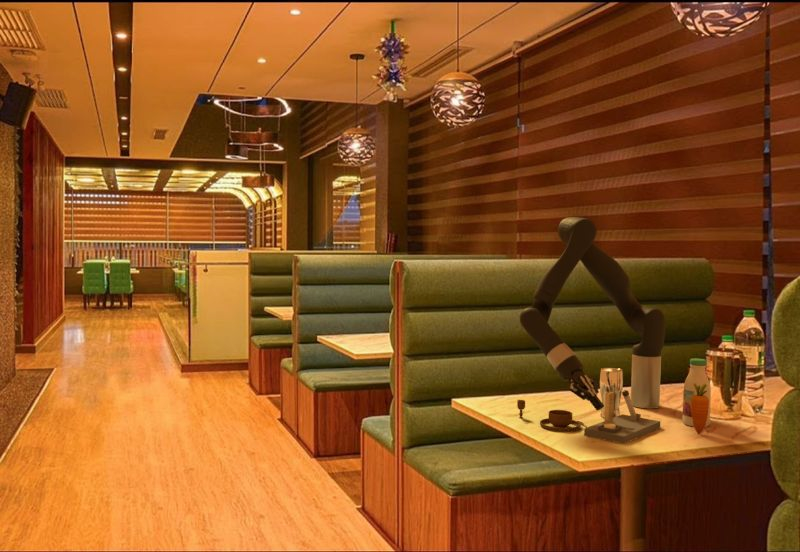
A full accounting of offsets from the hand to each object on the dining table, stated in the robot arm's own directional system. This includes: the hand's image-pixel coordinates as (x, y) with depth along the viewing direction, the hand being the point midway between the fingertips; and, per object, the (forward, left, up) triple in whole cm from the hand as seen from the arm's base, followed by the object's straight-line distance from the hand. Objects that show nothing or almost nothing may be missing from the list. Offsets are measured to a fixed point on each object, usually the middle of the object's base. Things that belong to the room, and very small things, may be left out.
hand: (600, 408), depth 216 cm
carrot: (-16, +23, -7) cm, 28 cm away
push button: (+5, +6, -4) cm, 9 cm away
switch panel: (-3, +6, -6) cm, 9 cm away
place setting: (+3, -14, -7) cm, 16 cm away
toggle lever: (-11, +6, -4) cm, 13 cm away
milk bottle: (-27, +18, -7) cm, 33 cm away
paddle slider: (0, +3, -4) cm, 5 cm away
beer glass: (-17, -5, -7) cm, 19 cm away
